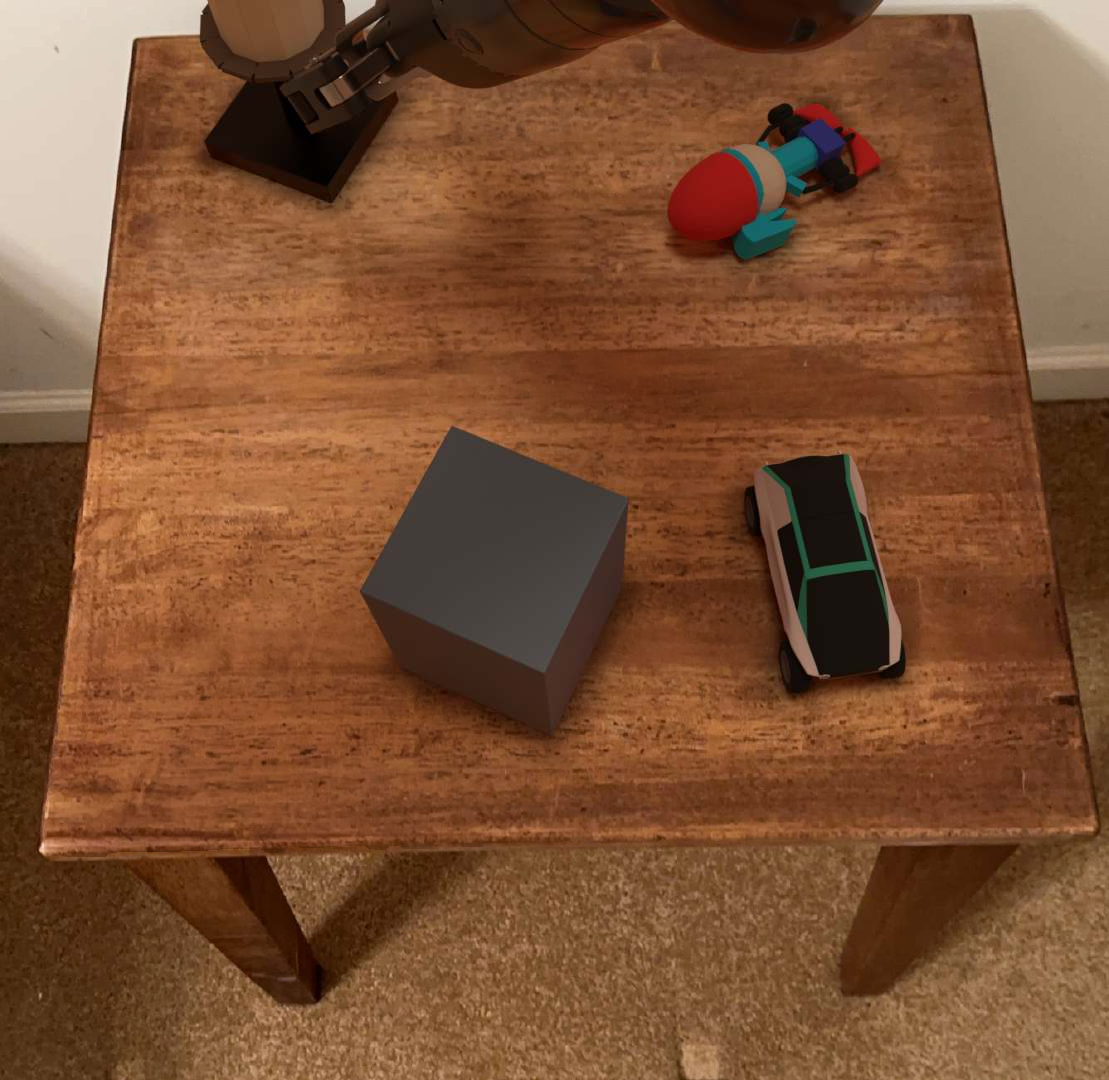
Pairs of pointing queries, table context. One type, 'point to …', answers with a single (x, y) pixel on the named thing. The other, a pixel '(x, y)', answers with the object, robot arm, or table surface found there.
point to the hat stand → (292, 140)
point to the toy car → (824, 571)
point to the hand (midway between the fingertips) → (372, 43)
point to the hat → (268, 35)
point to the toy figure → (766, 180)
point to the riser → (500, 578)
